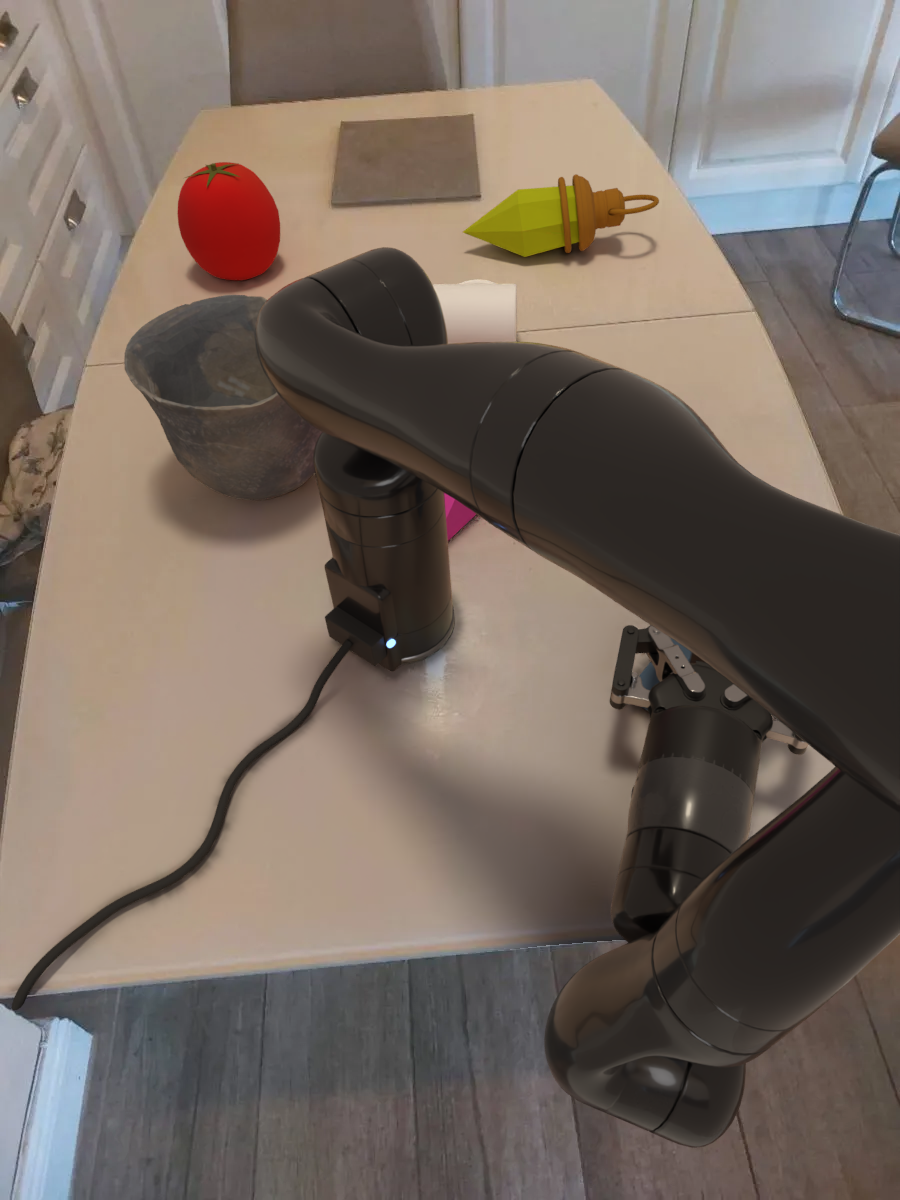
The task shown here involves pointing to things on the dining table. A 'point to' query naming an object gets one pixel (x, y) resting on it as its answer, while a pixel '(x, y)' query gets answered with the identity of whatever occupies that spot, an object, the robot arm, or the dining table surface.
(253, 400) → the grey deep bowl
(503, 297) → the mug
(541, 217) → the plumb bob
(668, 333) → the dining table surface
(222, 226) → the tomato
